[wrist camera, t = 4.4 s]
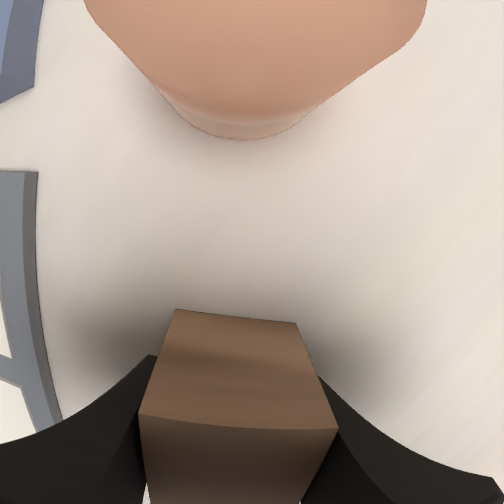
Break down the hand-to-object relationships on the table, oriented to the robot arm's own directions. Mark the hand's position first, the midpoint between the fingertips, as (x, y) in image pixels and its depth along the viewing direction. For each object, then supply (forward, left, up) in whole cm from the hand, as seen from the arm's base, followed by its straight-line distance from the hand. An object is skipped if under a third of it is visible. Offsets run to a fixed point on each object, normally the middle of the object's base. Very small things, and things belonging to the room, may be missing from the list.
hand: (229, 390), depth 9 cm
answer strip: (-6, +12, -1) cm, 13 cm away
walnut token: (0, 0, -1) cm, 1 cm away
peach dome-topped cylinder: (+10, +1, -2) cm, 10 cm away
